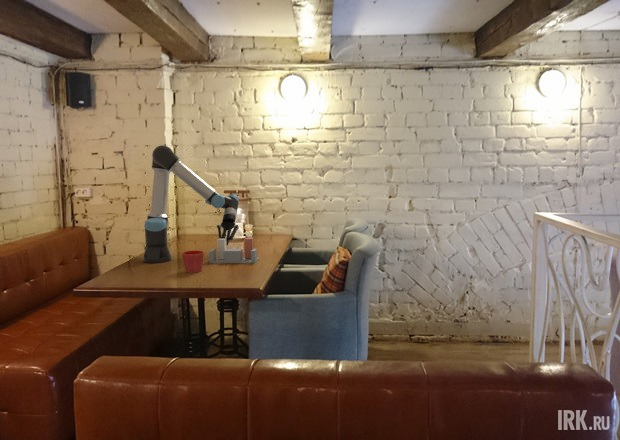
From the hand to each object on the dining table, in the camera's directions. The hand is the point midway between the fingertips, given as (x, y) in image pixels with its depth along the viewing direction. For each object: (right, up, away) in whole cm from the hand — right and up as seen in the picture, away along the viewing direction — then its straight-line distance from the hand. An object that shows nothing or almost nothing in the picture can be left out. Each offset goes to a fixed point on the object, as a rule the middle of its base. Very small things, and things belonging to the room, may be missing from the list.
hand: (223, 249), depth 284 cm
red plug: (+15, -6, -2) cm, 16 cm away
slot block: (+7, -6, -5) cm, 11 cm away
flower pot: (-10, -9, -31) cm, 33 cm away
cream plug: (0, -6, -3) cm, 6 cm away
